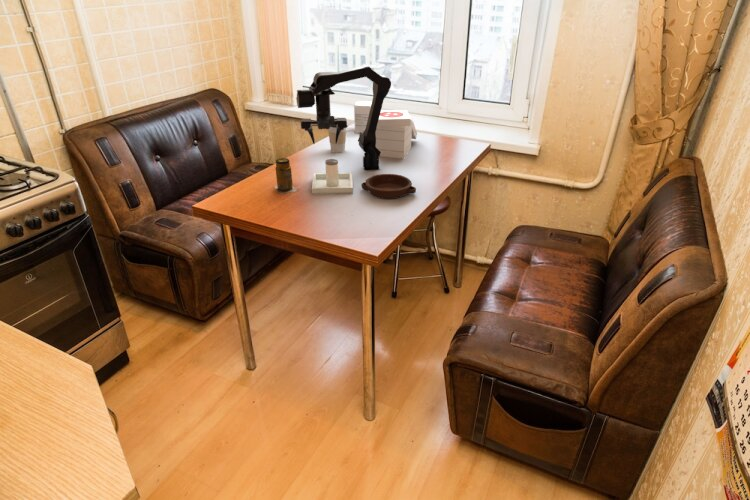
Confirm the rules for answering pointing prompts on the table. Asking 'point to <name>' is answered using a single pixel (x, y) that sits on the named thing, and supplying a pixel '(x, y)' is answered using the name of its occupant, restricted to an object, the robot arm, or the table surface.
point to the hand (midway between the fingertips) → (325, 143)
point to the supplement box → (361, 115)
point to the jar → (332, 172)
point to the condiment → (284, 176)
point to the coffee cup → (341, 140)
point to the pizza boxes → (394, 133)
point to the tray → (321, 187)
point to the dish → (388, 186)
